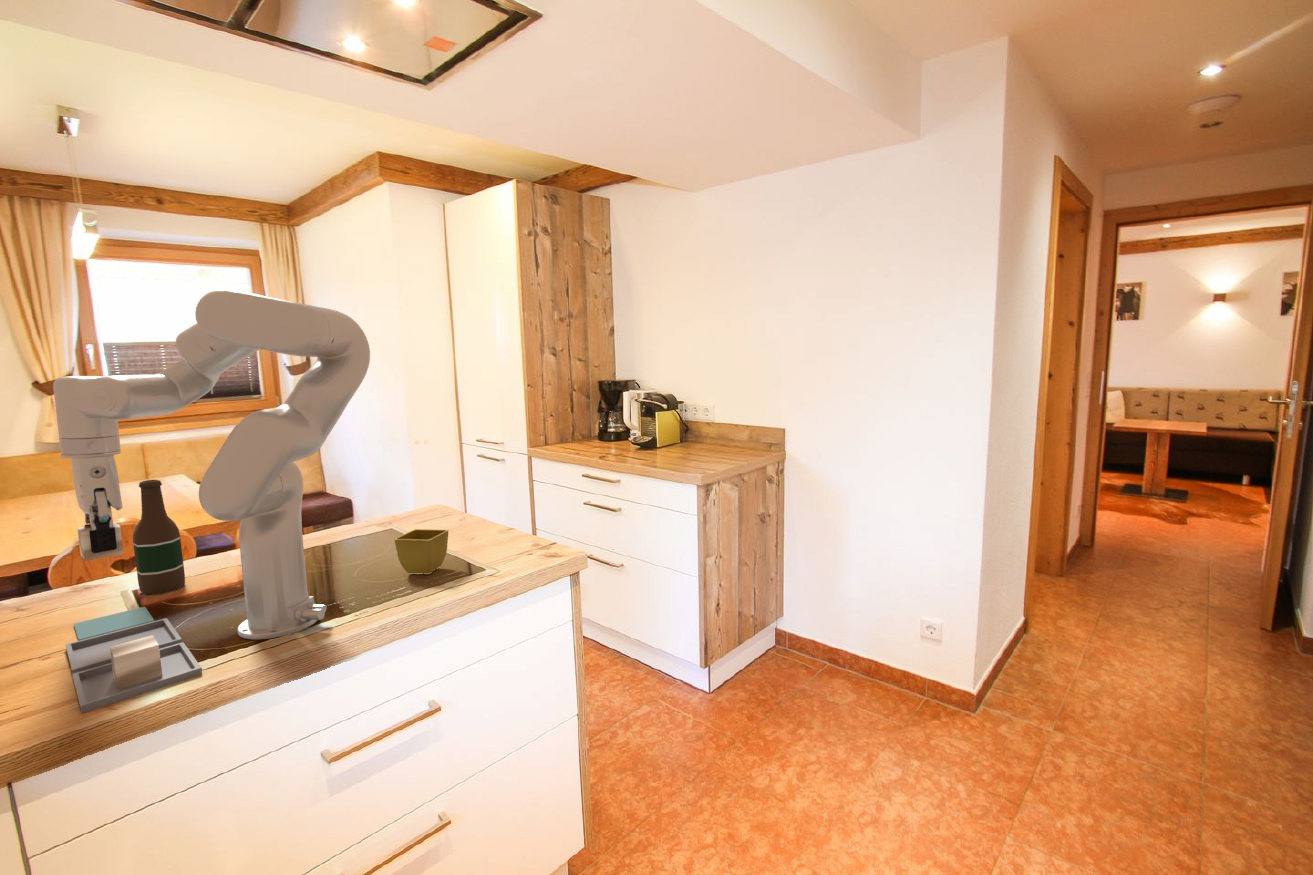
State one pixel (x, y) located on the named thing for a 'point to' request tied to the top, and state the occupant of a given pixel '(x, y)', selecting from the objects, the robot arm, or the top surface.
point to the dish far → (117, 643)
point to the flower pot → (422, 550)
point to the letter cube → (86, 545)
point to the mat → (112, 623)
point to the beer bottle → (157, 544)
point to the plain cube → (135, 661)
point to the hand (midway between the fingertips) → (101, 546)
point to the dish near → (102, 689)
